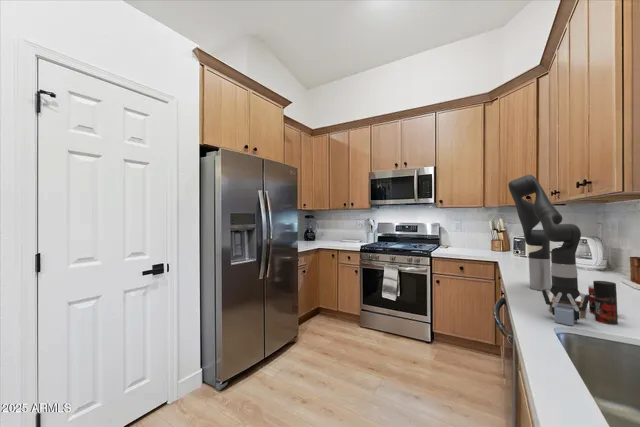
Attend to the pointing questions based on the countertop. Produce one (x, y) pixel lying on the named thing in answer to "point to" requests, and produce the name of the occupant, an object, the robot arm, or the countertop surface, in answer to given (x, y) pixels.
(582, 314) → the channel
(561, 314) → the block
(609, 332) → the countertop surface
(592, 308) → the canned food
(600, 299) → the deodorant
